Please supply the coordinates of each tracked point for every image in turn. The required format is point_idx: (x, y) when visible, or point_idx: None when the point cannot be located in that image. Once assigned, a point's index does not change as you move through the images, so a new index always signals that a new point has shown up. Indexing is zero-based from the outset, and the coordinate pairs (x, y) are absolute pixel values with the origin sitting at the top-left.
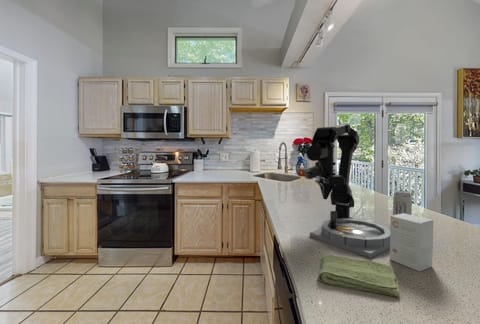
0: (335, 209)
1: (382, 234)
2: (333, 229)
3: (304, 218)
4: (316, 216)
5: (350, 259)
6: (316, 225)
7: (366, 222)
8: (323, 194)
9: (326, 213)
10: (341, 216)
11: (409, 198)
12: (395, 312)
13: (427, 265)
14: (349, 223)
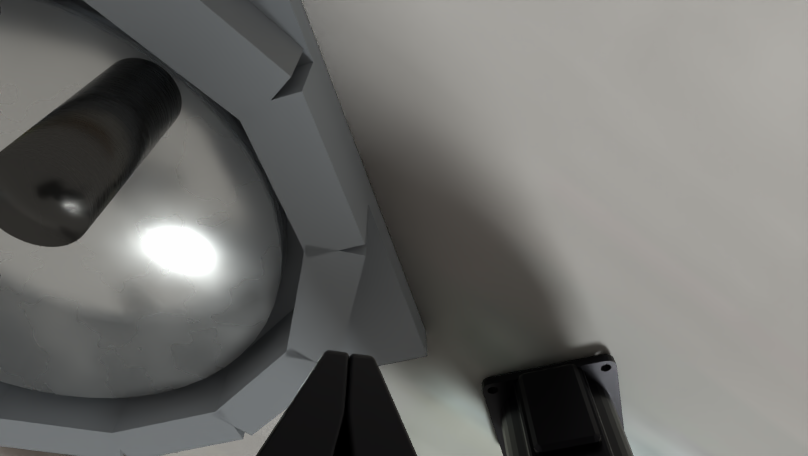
0: (596, 437)
1: None
2: (77, 52)
3: (803, 129)
4: (754, 277)
5: None
6: (528, 103)
7: (174, 419)
8: (319, 435)
9: (749, 392)
10: (524, 404)
11: None
12: None
13: None
14: (252, 322)
